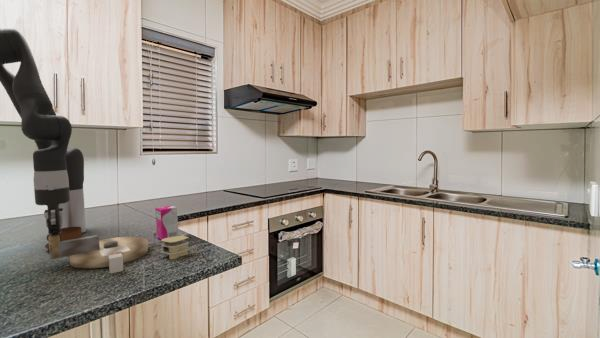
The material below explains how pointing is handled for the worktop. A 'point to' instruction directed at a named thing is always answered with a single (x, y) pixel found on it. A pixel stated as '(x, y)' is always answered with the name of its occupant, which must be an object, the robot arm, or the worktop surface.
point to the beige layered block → (175, 246)
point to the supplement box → (166, 222)
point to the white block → (115, 263)
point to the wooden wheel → (96, 250)
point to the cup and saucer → (68, 234)
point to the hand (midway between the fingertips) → (56, 246)
